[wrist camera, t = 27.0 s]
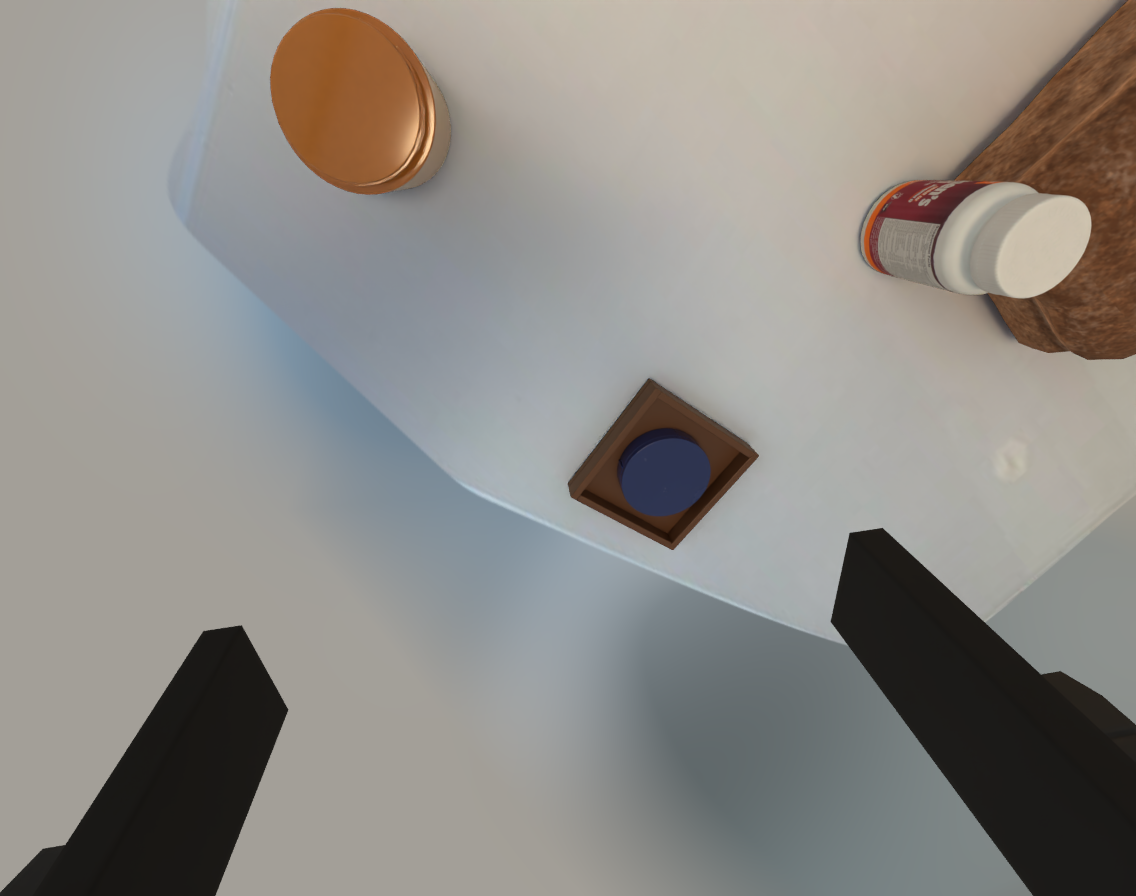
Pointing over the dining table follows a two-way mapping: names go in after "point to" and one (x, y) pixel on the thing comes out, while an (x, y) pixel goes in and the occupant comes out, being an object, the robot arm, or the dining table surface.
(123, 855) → the robot arm
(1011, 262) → the pill bottle
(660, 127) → the dining table surface
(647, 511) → the jar lid
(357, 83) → the jar
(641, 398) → the tray
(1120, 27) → the bread
